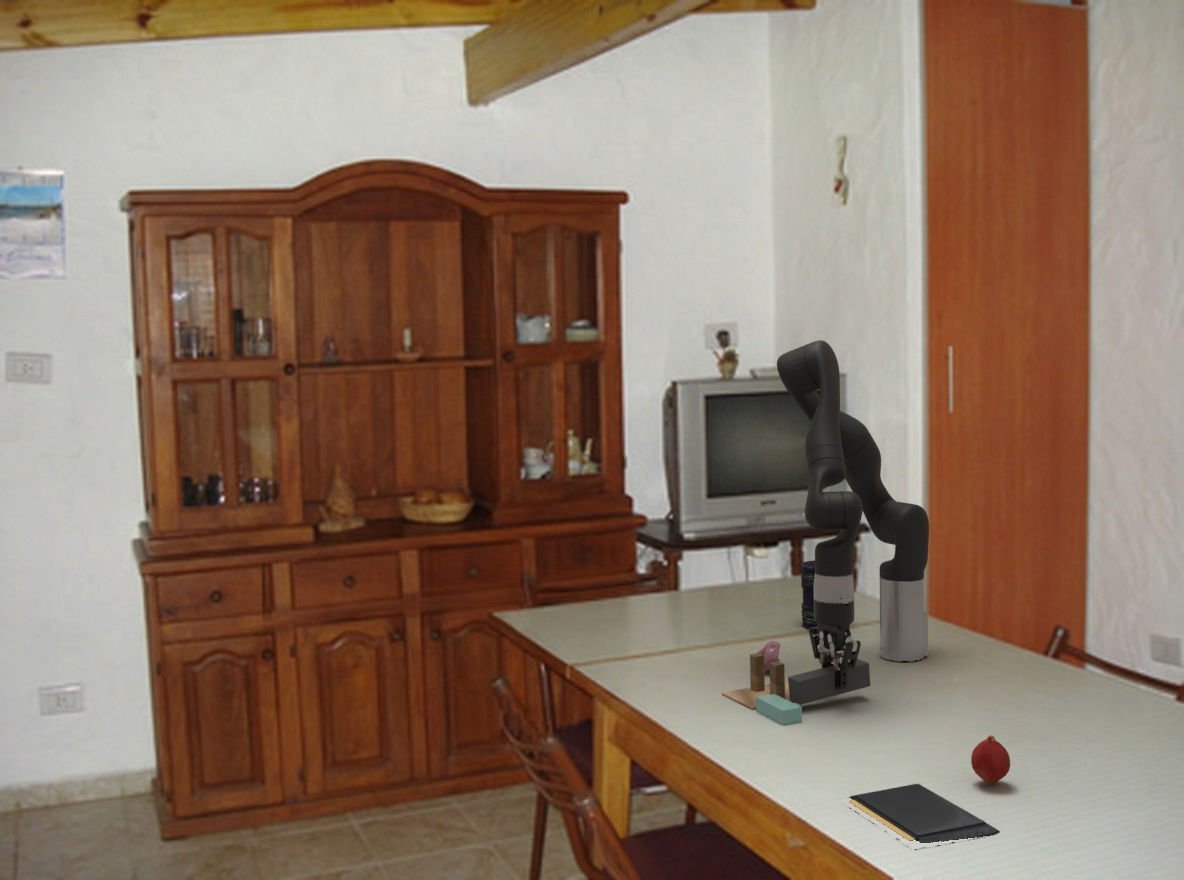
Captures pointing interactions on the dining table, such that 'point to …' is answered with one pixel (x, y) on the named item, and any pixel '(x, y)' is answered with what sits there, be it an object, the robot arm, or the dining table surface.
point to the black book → (921, 814)
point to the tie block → (779, 709)
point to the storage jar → (808, 594)
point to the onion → (990, 760)
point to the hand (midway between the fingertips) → (834, 685)
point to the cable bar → (826, 683)
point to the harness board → (752, 695)
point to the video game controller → (770, 654)
